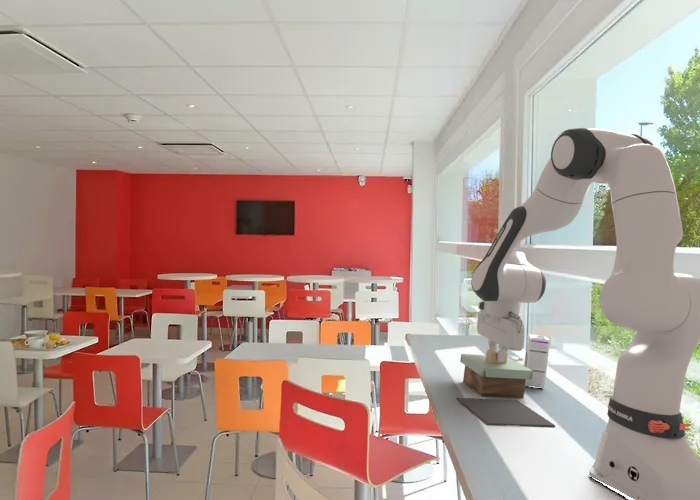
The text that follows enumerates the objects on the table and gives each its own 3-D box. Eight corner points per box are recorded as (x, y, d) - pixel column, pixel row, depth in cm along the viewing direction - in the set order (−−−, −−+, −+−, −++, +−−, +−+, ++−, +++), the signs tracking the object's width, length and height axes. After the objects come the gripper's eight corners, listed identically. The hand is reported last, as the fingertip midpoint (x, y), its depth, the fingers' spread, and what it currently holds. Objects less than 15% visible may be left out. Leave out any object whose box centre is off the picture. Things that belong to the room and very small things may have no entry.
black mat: (554, 426, 128) (555, 425, 128) (487, 424, 124) (487, 423, 124) (517, 401, 145) (517, 400, 145) (456, 399, 141) (456, 397, 141)
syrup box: (544, 390, 159) (551, 340, 158) (523, 386, 160) (529, 336, 159) (541, 384, 165) (548, 336, 164) (521, 381, 166) (527, 333, 165)
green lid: (531, 379, 147) (534, 359, 147) (482, 376, 144) (485, 356, 144) (505, 364, 161) (508, 346, 161) (460, 361, 158) (462, 343, 158)
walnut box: (523, 398, 149) (526, 372, 148) (482, 396, 146) (485, 370, 145) (501, 383, 160) (504, 360, 160) (462, 382, 157) (466, 357, 157)
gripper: (533, 317, 142) (526, 370, 143) (495, 303, 162) (489, 350, 163) (511, 315, 141) (504, 369, 142) (475, 301, 161) (470, 348, 162)
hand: (496, 358), depth 152 cm, fingers closed on green lid, 2 cm apart
